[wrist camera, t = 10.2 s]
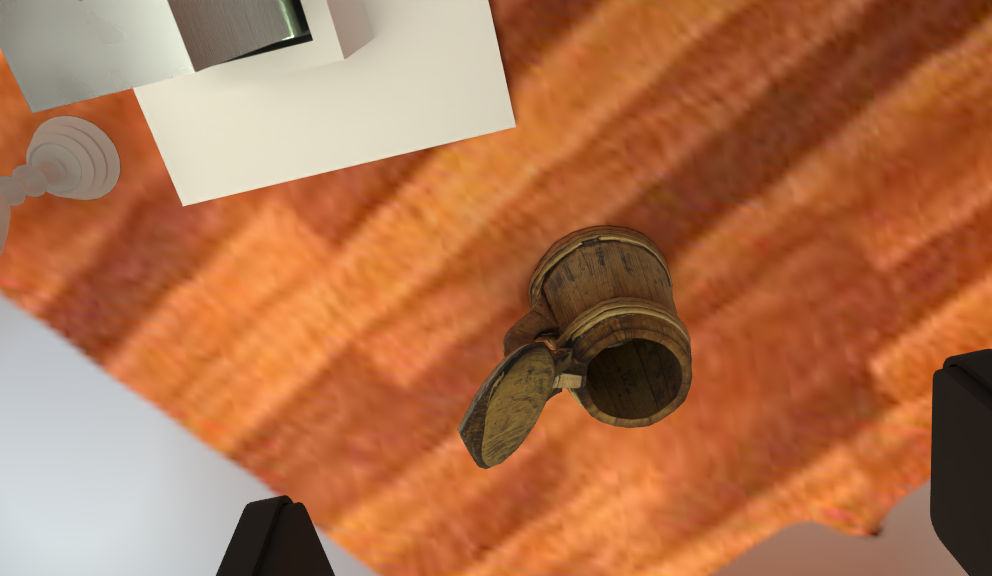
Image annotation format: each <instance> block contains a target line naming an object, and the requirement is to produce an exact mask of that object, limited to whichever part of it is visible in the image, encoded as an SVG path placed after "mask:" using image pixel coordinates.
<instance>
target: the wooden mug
mask: <svg viewBox="0 0 992 576" xmlns="http://www.w3.org/2000/svg"><path fill="white" fill-rule="evenodd" d="M528 297H529V302H530V306H531V310H532V311H531V312H529V313H528V314H527V315H525V316H524V317H523V318H522V319H520V320H519V321H518V322H517V323H516V324H515V325H514V326H513V327H512V328H511V329H510V330H509V331H508V332H507V333H506V335H505V338H504V341H503V344H502V348H503V352H504V355H505V358H504V359H503V360H502V361H501V362H500V363H499V364H498V366H497V367H496V368H495V369H494V370H493V371H492V373H491V374H490V375H489V376H488V378H487V379H486V380H485V381H484V383H483V384H482V386H481V387H480V389H479V390H478V392H477V393H476V395H475V396H474V398H473V400H472V402H471V404H470V406H469V408H468V410H467V412H466V414H465V416H464V417H463V419H462V421H461V423H460V425H459V427H458V431H459V434H460V436H461V438H462V440H463V442H464V444H465V446H466V447H467V449H468V451H469V453H470V454H471V456H472V458H473V459H474V461H475V462H476V464H477V465H478V466H479V467H481V468H484V469H488V468H490V467H493V466H495V465H498V464H501V463H502V462H503V461H504V460H505V459H507V458H508V457H509V456H510V455H511V454H512V453H513V452H514V451H515V450H517V449H518V448H519V446H520V445H521V444H522V442H523V441H524V440H525V438H526V437H527V436H528V434H529V433H530V431H531V430H532V428H533V427H534V425H535V424H536V422H537V420H538V418H539V416H540V414H541V412H542V410H543V408H544V406H545V404H546V401H548V400H549V399H550V398H551V397H552V396H554V395H556V394H558V393H560V392H562V388H566V389H567V390H568V391H569V392H570V393H571V394H572V396H573V397H574V398H575V399H576V400H577V402H578V403H579V404H580V405H581V406H582V407H584V408H585V409H586V410H587V411H588V413H589V414H590V415H591V416H592V417H594V418H596V419H597V420H599V421H601V422H602V423H606V424H609V425H612V426H618V427H626V428H635V427H644V426H650V425H652V424H654V423H656V422H658V421H660V420H662V419H663V418H665V417H666V416H668V415H669V414H671V413H672V412H674V411H675V410H676V409H677V408H678V407H679V406H680V405H681V404H682V403H683V402H684V401H685V399H686V396H687V394H688V391H689V389H690V385H691V380H692V367H691V366H692V357H691V346H690V337H689V335H688V332H687V330H686V327H685V325H684V323H683V322H682V321H681V320H680V319H679V317H678V316H677V312H676V309H675V305H674V301H673V297H672V282H671V278H670V274H669V270H668V267H667V263H666V260H665V257H664V256H663V255H662V253H661V252H660V250H659V249H658V247H657V246H656V245H655V244H654V243H653V242H652V241H651V240H649V239H648V238H647V237H646V236H645V235H643V234H642V233H639V232H636V231H633V230H631V229H628V228H623V227H613V226H600V227H591V228H588V229H584V230H581V231H577V232H573V233H571V234H570V235H568V236H566V237H565V238H563V239H561V240H560V241H558V242H557V243H555V244H554V245H553V246H552V247H551V248H550V250H549V251H548V252H547V253H546V254H545V256H544V257H543V258H542V259H541V261H540V262H539V264H538V266H537V268H536V270H535V272H534V274H533V276H532V278H531V281H530V284H529V289H528ZM539 340H545V341H546V342H547V343H548V344H549V345H550V346H551V347H552V348H553V349H554V350H550V349H549V347H548V346H547V345H546V344H545V343H544V342H536V341H539Z"/></svg>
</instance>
